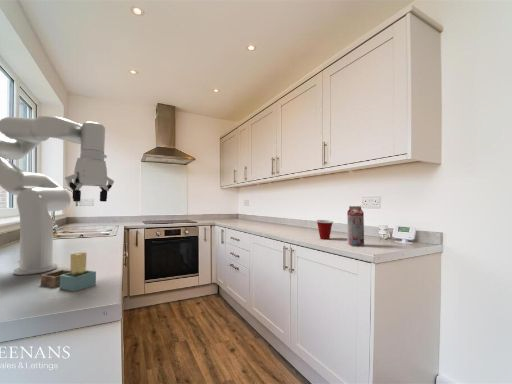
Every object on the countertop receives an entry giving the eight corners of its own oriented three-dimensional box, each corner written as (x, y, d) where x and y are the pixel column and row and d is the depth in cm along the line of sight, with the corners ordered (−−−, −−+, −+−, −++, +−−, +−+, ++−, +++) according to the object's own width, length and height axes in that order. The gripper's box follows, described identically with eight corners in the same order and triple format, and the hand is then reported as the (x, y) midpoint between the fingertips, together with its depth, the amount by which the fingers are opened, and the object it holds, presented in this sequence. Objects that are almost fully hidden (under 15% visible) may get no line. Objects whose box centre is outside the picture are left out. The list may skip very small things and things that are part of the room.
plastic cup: (324, 240, 158) (324, 221, 159) (313, 238, 168) (312, 220, 168) (337, 239, 164) (337, 220, 164) (325, 237, 173) (324, 219, 173)
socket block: (40, 284, 80) (40, 275, 80) (63, 278, 86) (63, 269, 86) (53, 287, 77) (53, 277, 78) (76, 280, 84) (76, 271, 84)
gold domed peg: (67, 287, 77) (67, 254, 77) (80, 283, 81) (80, 252, 81) (75, 289, 76) (76, 255, 76) (89, 285, 79) (89, 253, 80)
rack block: (59, 288, 76) (59, 275, 76) (82, 281, 82) (82, 269, 83) (74, 291, 74) (74, 277, 74) (95, 284, 80) (95, 271, 80)
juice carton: (364, 246, 139) (363, 206, 140) (352, 246, 140) (351, 206, 140) (359, 244, 146) (358, 206, 147) (347, 244, 146) (347, 206, 147)
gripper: (107, 159, 105) (106, 201, 104) (60, 152, 89) (58, 201, 89) (120, 159, 101) (118, 201, 101) (73, 151, 86) (71, 201, 85)
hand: (90, 201), depth 95 cm, fingers open, 9 cm apart
